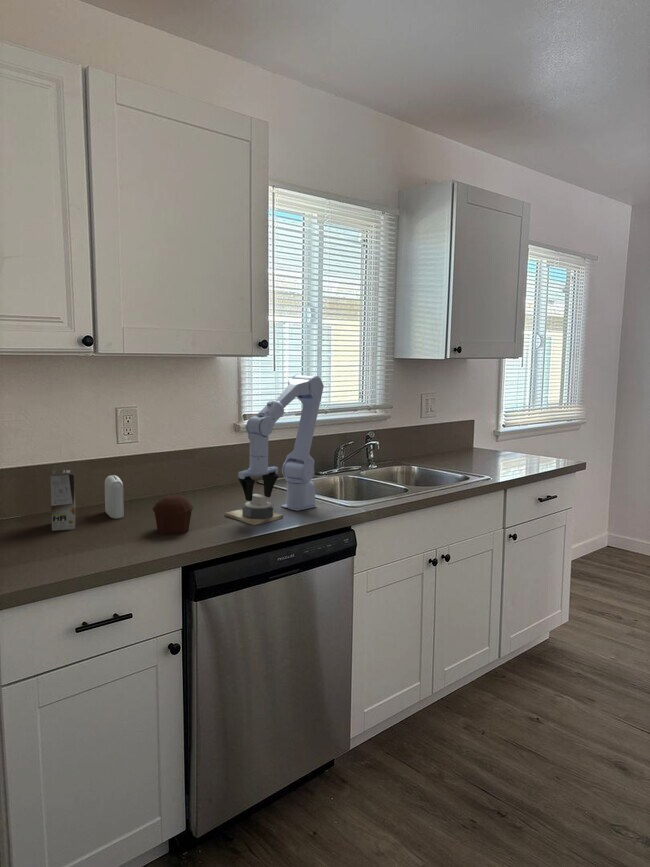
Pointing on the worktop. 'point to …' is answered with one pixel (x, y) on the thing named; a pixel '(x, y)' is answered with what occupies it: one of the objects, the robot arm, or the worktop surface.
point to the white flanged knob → (258, 502)
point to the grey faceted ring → (257, 512)
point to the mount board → (239, 516)
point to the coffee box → (62, 499)
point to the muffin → (172, 515)
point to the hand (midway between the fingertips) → (258, 498)
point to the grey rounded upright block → (114, 497)
